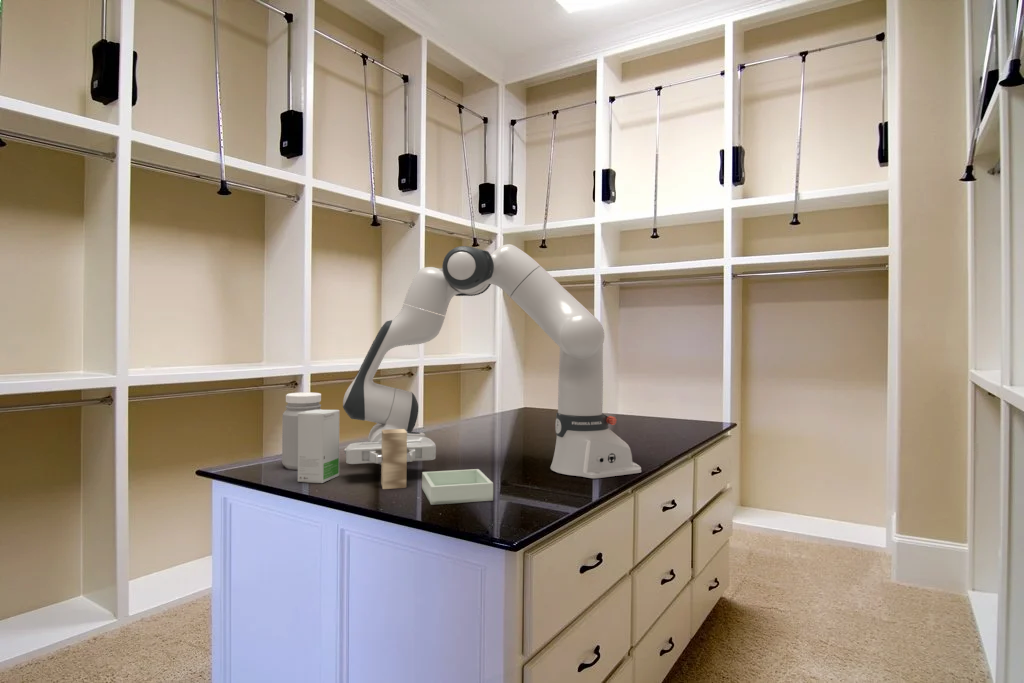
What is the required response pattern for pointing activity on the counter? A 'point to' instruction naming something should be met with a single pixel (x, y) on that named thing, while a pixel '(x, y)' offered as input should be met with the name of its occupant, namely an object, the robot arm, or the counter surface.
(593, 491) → the counter surface
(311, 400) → the jar
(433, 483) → the dish
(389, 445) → the oak block
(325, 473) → the skincare box
